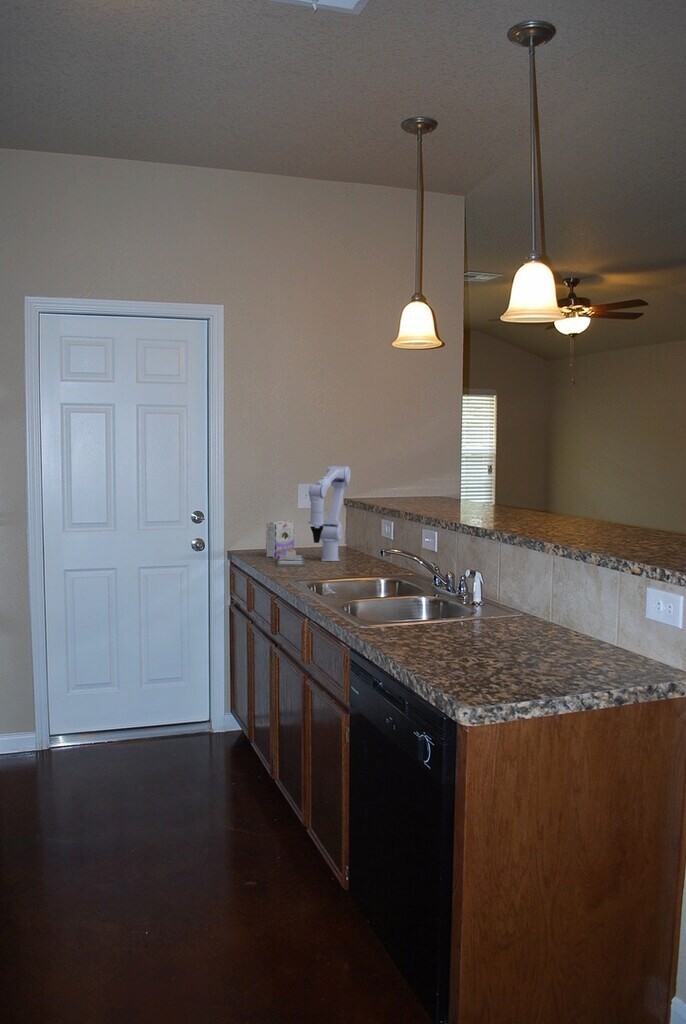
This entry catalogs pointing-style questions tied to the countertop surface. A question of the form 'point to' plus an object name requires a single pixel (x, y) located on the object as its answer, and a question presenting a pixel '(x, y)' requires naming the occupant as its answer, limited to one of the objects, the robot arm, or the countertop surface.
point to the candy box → (279, 538)
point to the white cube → (290, 554)
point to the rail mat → (290, 561)
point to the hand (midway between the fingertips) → (316, 542)
